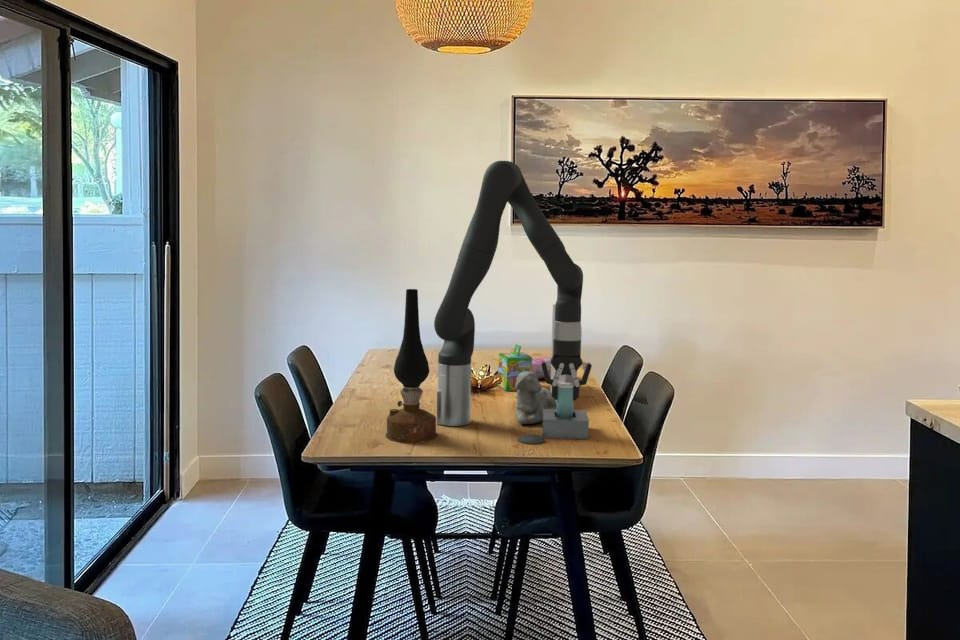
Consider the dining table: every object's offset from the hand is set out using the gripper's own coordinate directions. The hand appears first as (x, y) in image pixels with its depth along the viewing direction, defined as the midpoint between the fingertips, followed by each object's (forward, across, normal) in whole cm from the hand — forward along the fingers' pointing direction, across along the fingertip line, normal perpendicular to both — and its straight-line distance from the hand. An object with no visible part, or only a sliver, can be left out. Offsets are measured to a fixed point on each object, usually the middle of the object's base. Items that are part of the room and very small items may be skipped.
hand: (565, 399), depth 230 cm
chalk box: (+10, -15, +55) cm, 58 cm away
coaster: (+9, -9, -9) cm, 16 cm away
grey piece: (+10, +1, +43) cm, 44 cm away
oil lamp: (+10, -41, -8) cm, 43 cm away
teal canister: (+6, 0, 0) cm, 6 cm away
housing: (+9, 0, 0) cm, 9 cm away
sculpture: (+10, -8, +15) cm, 19 cm away
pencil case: (+10, -7, +70) cm, 71 cm away
